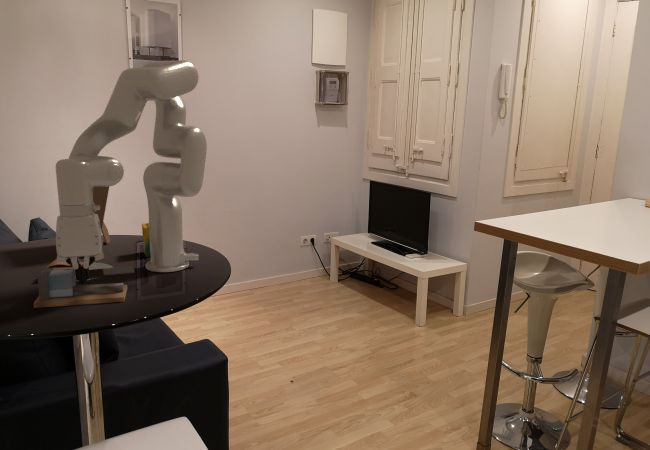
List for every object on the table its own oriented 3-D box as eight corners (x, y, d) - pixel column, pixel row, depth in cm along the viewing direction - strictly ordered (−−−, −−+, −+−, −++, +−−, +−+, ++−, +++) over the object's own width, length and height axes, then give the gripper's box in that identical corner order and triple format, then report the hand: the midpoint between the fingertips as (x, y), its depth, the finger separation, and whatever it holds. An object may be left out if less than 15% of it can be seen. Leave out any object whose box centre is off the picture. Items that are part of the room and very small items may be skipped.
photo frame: (83, 258, 167) (77, 179, 162) (61, 244, 183) (55, 172, 178) (129, 250, 177) (125, 176, 172) (104, 238, 193) (100, 170, 188)
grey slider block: (76, 289, 134) (74, 268, 133) (72, 296, 129) (70, 274, 128) (54, 290, 132) (52, 269, 131) (49, 297, 127) (47, 275, 126)
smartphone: (133, 268, 159) (78, 273, 153) (133, 265, 159) (78, 270, 153) (135, 275, 152) (78, 280, 147) (135, 272, 152) (78, 277, 146)
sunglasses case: (73, 281, 144) (58, 261, 143) (50, 294, 144) (35, 275, 142) (87, 263, 162) (74, 245, 160) (67, 275, 161) (53, 257, 159)
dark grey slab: (55, 290, 133) (53, 267, 132) (49, 299, 127) (46, 276, 125) (46, 291, 133) (44, 268, 131) (39, 300, 126) (37, 276, 125)
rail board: (127, 288, 139) (126, 277, 139) (124, 301, 130) (123, 290, 129) (43, 293, 134) (42, 282, 133) (34, 307, 125) (32, 295, 124)
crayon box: (143, 252, 176) (141, 217, 174) (152, 251, 177) (150, 217, 175) (145, 257, 170) (143, 222, 167) (155, 256, 171) (153, 221, 168)
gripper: (111, 206, 133) (116, 276, 137) (45, 208, 129) (52, 280, 133) (108, 212, 126) (114, 285, 130) (39, 214, 122) (46, 290, 126)
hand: (83, 282), depth 131 cm, fingers closed
